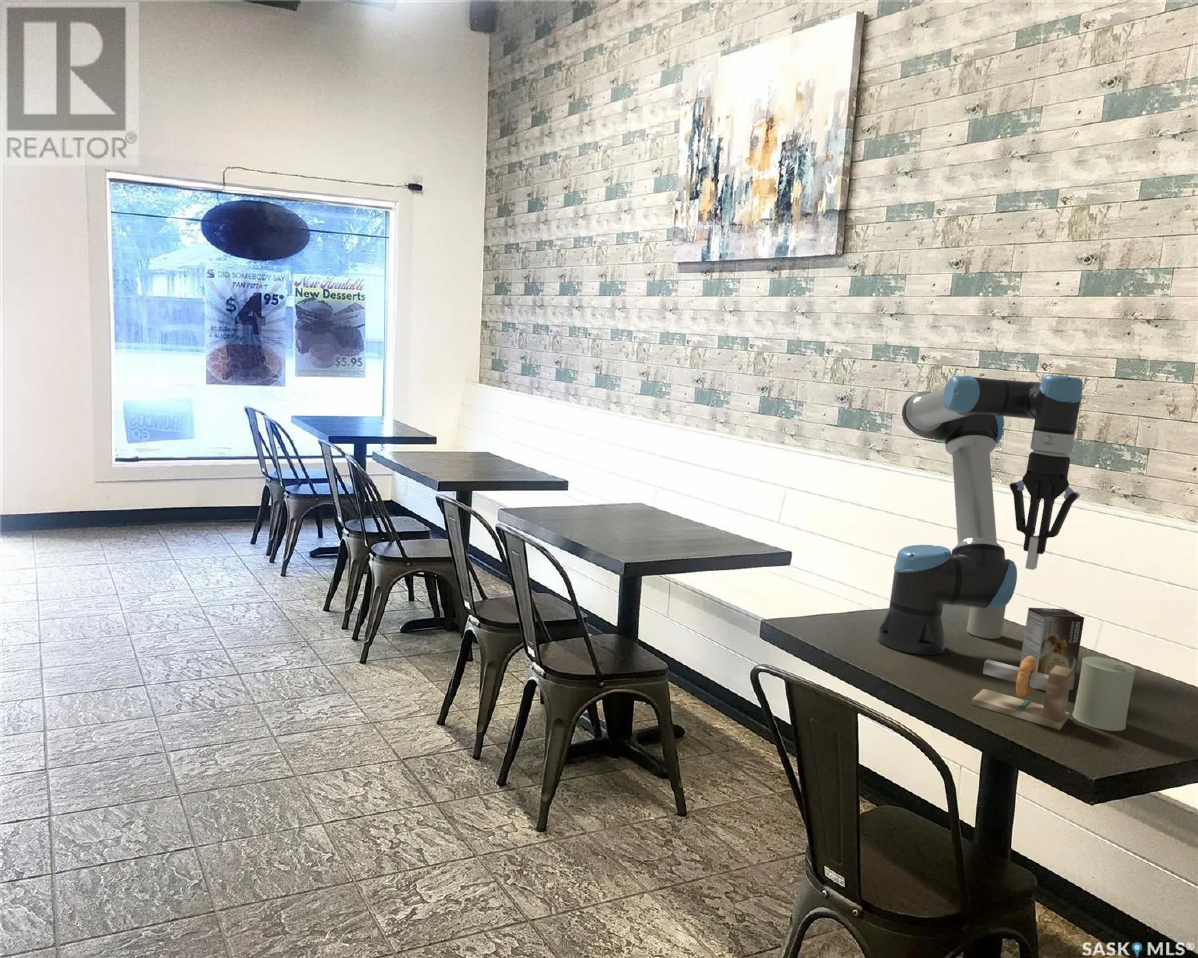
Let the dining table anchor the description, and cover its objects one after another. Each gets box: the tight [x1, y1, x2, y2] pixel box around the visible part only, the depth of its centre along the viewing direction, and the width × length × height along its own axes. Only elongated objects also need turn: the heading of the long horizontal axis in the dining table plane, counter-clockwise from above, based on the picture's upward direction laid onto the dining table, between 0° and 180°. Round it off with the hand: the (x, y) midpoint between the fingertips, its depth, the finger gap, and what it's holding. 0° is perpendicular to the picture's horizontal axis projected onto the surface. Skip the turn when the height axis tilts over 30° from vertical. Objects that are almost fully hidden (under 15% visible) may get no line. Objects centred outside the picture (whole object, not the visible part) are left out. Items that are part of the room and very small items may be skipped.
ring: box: [1015, 656, 1037, 700], centre depth 184 cm, size 2×8×8 cm, turn 143°
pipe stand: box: [971, 658, 1073, 731], centre depth 185 cm, size 16×8×10 cm, turn 53°
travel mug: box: [966, 605, 1007, 640], centre depth 236 cm, size 8×8×18 cm
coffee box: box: [1019, 607, 1085, 691], centre depth 202 cm, size 9×6×16 cm
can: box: [1072, 655, 1137, 732], centre depth 183 cm, size 9×9×12 cm
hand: (1030, 568), depth 193 cm, fingers closed
